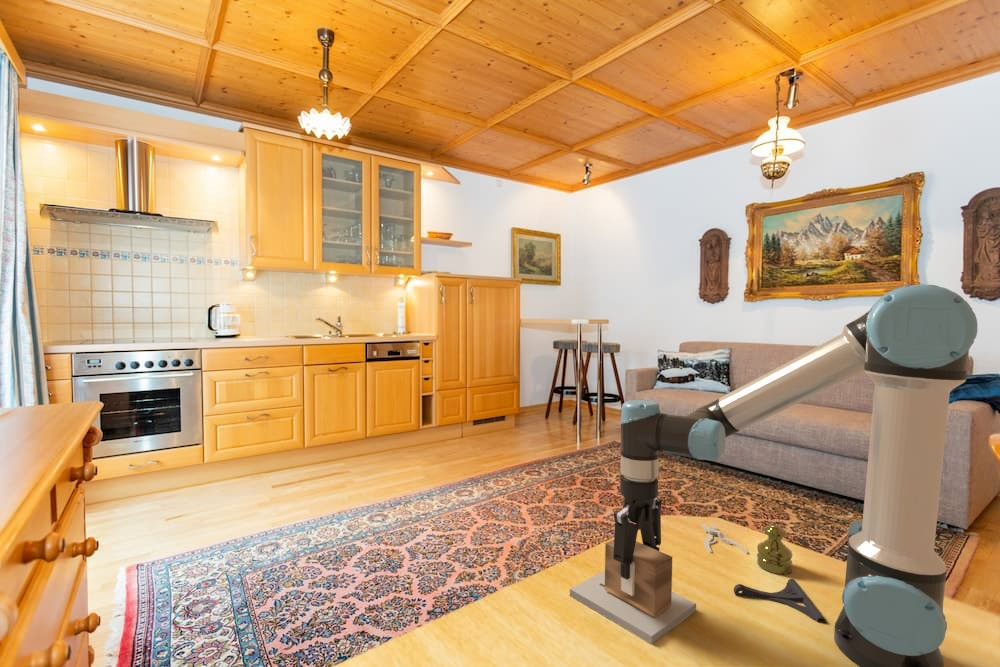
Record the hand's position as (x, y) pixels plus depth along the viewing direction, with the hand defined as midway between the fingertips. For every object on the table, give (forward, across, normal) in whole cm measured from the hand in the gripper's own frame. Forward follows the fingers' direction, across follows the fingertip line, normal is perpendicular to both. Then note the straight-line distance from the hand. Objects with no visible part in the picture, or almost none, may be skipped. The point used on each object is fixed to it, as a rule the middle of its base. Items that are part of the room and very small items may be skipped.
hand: (637, 586), depth 100 cm
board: (+4, 0, -2) cm, 4 cm away
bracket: (+5, -25, +16) cm, 30 cm away
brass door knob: (+4, -39, +12) cm, 41 cm away
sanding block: (+2, 0, 0) cm, 2 cm away
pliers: (+5, -42, -4) cm, 43 cm away
